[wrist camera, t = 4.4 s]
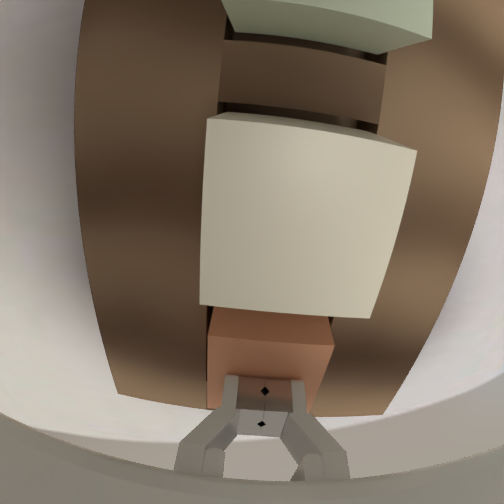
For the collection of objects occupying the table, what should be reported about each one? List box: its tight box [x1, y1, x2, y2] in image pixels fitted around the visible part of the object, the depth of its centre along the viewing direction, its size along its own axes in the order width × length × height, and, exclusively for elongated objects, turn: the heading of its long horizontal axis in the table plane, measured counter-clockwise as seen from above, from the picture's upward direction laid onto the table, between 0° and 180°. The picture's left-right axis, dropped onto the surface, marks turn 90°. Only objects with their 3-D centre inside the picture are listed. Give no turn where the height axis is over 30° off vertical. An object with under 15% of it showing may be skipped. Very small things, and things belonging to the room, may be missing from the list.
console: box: [74, 0, 504, 417], centre depth 11 cm, size 24×15×3 cm, turn 174°
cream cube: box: [200, 112, 417, 319], centre depth 8 cm, size 4×4×4 cm
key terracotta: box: [207, 306, 335, 413], centre depth 13 cm, size 4×4×4 cm
